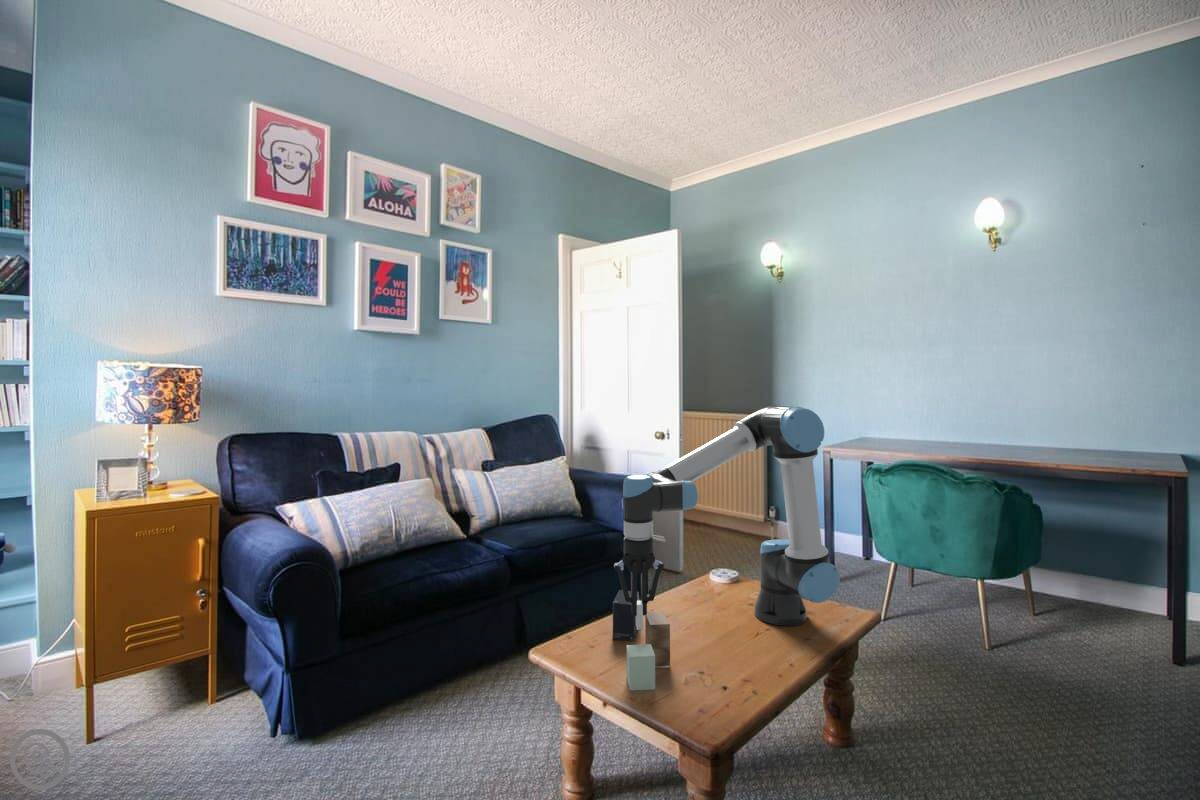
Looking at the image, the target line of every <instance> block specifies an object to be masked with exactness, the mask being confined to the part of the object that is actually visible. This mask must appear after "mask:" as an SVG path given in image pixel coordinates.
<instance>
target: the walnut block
mask: <svg viewBox="0 0 1200 800" xmlns="http://www.w3.org/2000/svg"><path fill="white" fill-rule="evenodd" d="M644 617H645V618H644V620H645V622H644V626H645V627H644V629H645V630H644V631H645V643H644V644H651V646H652V649H653V651H654V654H655V669H658V668H659V669H660V668H662V669H663V668H671V623H670V622H669V619H668V617H667V615H666V613H665V611H647V615H644Z"/></svg>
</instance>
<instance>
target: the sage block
mask: <svg viewBox="0 0 1200 800" xmlns="http://www.w3.org/2000/svg"><path fill="white" fill-rule="evenodd" d="M625 647H626V680H627V683H628V688H629V689H628V690H629V691H648V690H649V691H650V690H656V668H655V654H654V651H653V649H652V646H651V644H645V643H644V644H643V643H641V644H626V646H625Z"/></svg>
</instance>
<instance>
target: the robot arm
mask: <svg viewBox="0 0 1200 800" xmlns="http://www.w3.org/2000/svg"><path fill="white" fill-rule="evenodd" d="M824 438H825V427H824V423H823V420H822V419H821V417H820V416H819V415H818V414H817V413H816V412H814V411H813V410H810V409H809V408H805V407H801V406H781V405H769V406H766V407H763V408H761V409H759V410H756V411H755V412H753V413H751V414H749V415H747V416H745V417H744V418H742V419H740V420H739V421H737V422H735V424H734V427H733V428H732V429H729V430H728V431H726V432H724V433H722V434H721V435H719V436H717V437H716V438H714V439H712V440H710V441H709V442H707V443H705V444H704V445H702V446H700V447H698V448H696V449H695V450H693V451H691V452H689V453H687V454H686V455H683V456H682V457H680V458H678V459H676V460H675V461H673V462H671V463H670V464H668V465H666V466H664V467H662V468H660V469H658V470H657V471H655V472H654V471H648V472H645V473H643V474H639V475H638V474H633V475H632V474H631V475H628V476H626V477H625V478H624V479H623V484H622V499H623V500H622V501H623V502H622V504H623V535H624V538H623V555H622V557H621V560H619V562H614V563H613V567H614V570H615V572H616V573H617V575H618V578H619V582H620V585H621V590H623V594H624V597H625V601H626V602H631V609H632V615H633V616H636V628H637V631H639V630H640V631H641V630H644V616H645V615H647V612H648V603H649V602H653V601H654V600H655V596H656V591H657V589H658V583H659V578H660V574H661V573H662V571H663V569H664V567H665V565H664V564H663V562H662V561H661V560H658V559H656V557H655V554H654V537H653V536H654V513H662V512H663V513H664V512H675V511H676V512H677V511H678V512H679V511H682V512H683V511H688V510H692V509H695V508H696V506H697V504H698V499H699V495H698V488H697V486H696V484H695V483H694V481H697V480H698V479H700V478H701V477H704V476H706V475H707V474H709V473H710V472H712V471H714V470H716V469H717V468H719V467H720V466H723V465H725V464H726V463H728V462H730V461H731V460H733V459H735V458H737V457H738V456H741V455H742V454H743V453H745V452H747V451H749V452H754V451H756V450H758V449H759V448H763V447H767V446H772V450H773V458H774V459H775V460H777V462H779V463H780V470H781V477H782V479H781V480H782V489H783V499H784V507H785V515H786V525H787V534H788V535H787V536H788V539H787V538H785V539H769V540H765V541H763V542H762V543H761V544H760V551H759V555H760V557H759V559H760V562H759V563H760V565H759V566H760V569H759V570H760V578H759V579H760V589H759V593H758V595H757V597H756V601H755V604H754V616H755V617H756V618H757V619H759V620H760V621H762V622H764V623H768V624H771V625H775V626H786V627H787V626H788V627H790V626H797V625H801V624H804V623H805V622H806V621H807V618H808V617H807V615H808V614H807V609H806V605H805V603H804V601H805V600H806V601H809V602H811V603H814V604H820V603H821V604H822V603H825V602H827V601H829V600H830V599H831V598H833V596H834V594H835V593H836V592H837V591H838V590H839V587H840V583H841V577H840V572H839V570H838V569H837V567H836V566H835V565H834V564H832V563H831V562H830V555H829V549H828V548H827V547H826V546H825V545H823V544H822V535H821V525H820V515H819V514H820V513H819V506H818V498H817V487H816V477H815V471H814V469H815V468H814V460H815V458H816V457H817V456H818V455H819V451H818V448H819V447H820V446H821V445H822V442H823V441H824ZM624 566H625V567H626V568H627V570H628V571H629V572H630V591H631V596H630V595H629V593H628V591H629V590H628V586H627V583H626V578H625V575H624V572H623V571H624V569H625V568H624ZM652 566H653V571H652V576H651V580H650V584H649V587H648V572H649V570H650V569H651V568H652ZM638 574H640V599H641V600H640V599H639V601H637V592H638ZM648 588H649V589H648Z"/></svg>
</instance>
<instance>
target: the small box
mask: <svg viewBox="0 0 1200 800" xmlns="http://www.w3.org/2000/svg"><path fill="white" fill-rule="evenodd" d="M628 593H629V595H630V596H631V590H628ZM639 600H640V592H639V591H637V601H639ZM637 632H638V630H637V628H636V616H633V615H632V609H631V602H626V601H625V597H624V594H623V590H622V589H619V590H618V592H617V594H616V595H615V598H614V599H613V601H612V640H621V641H631V642H632V641H635V638H636V635H637Z"/></svg>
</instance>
